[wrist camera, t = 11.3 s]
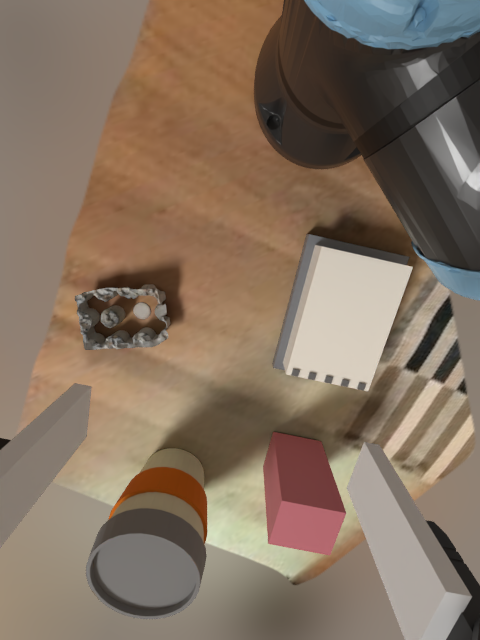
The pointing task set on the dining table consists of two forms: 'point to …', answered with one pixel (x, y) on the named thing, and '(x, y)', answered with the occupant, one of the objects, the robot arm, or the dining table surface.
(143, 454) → the dining table surface
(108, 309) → the egg carton
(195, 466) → the reusable coffee cup
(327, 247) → the white notepad
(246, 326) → the dining table surface
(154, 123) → the dining table surface
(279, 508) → the pink block
